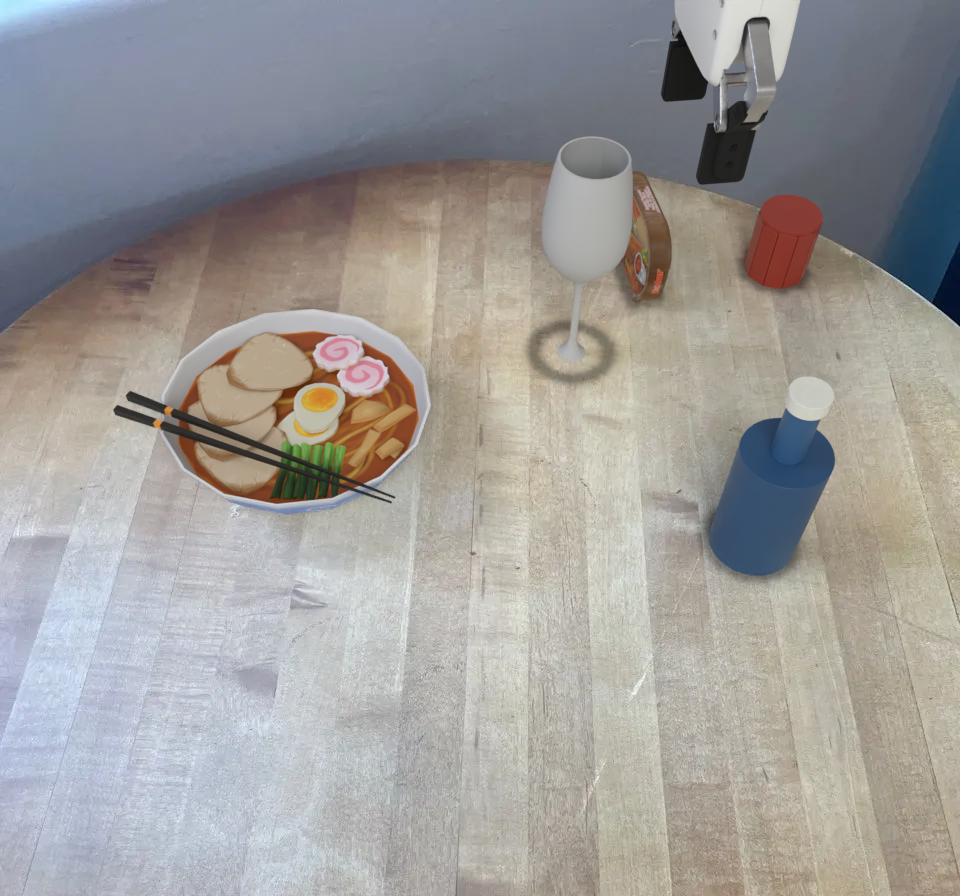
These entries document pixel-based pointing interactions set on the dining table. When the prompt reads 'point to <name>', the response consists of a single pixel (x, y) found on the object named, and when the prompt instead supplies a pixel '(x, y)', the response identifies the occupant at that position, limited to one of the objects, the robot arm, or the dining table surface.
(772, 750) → the dining table surface
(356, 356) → the ramen bowl
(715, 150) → the robot arm
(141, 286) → the dining table surface
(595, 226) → the wineglass
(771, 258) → the red grooved cylinder
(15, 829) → the dining table surface
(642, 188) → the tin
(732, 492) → the water bottle
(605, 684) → the dining table surface
